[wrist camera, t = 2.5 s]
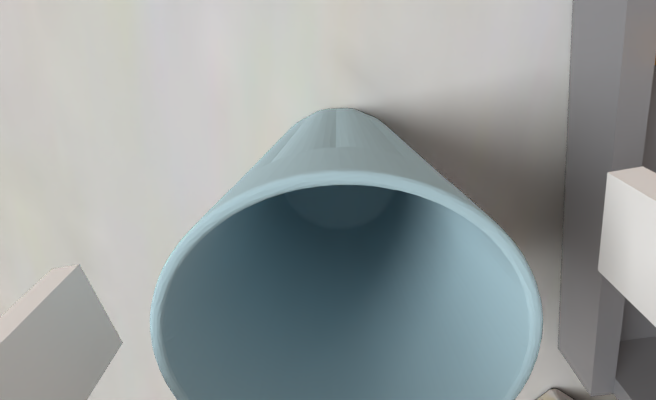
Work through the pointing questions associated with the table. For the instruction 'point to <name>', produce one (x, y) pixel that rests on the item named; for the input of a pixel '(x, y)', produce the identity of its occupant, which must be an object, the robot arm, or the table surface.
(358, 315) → the cup
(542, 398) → the coffee box
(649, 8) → the grey open rectangular box
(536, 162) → the table surface
